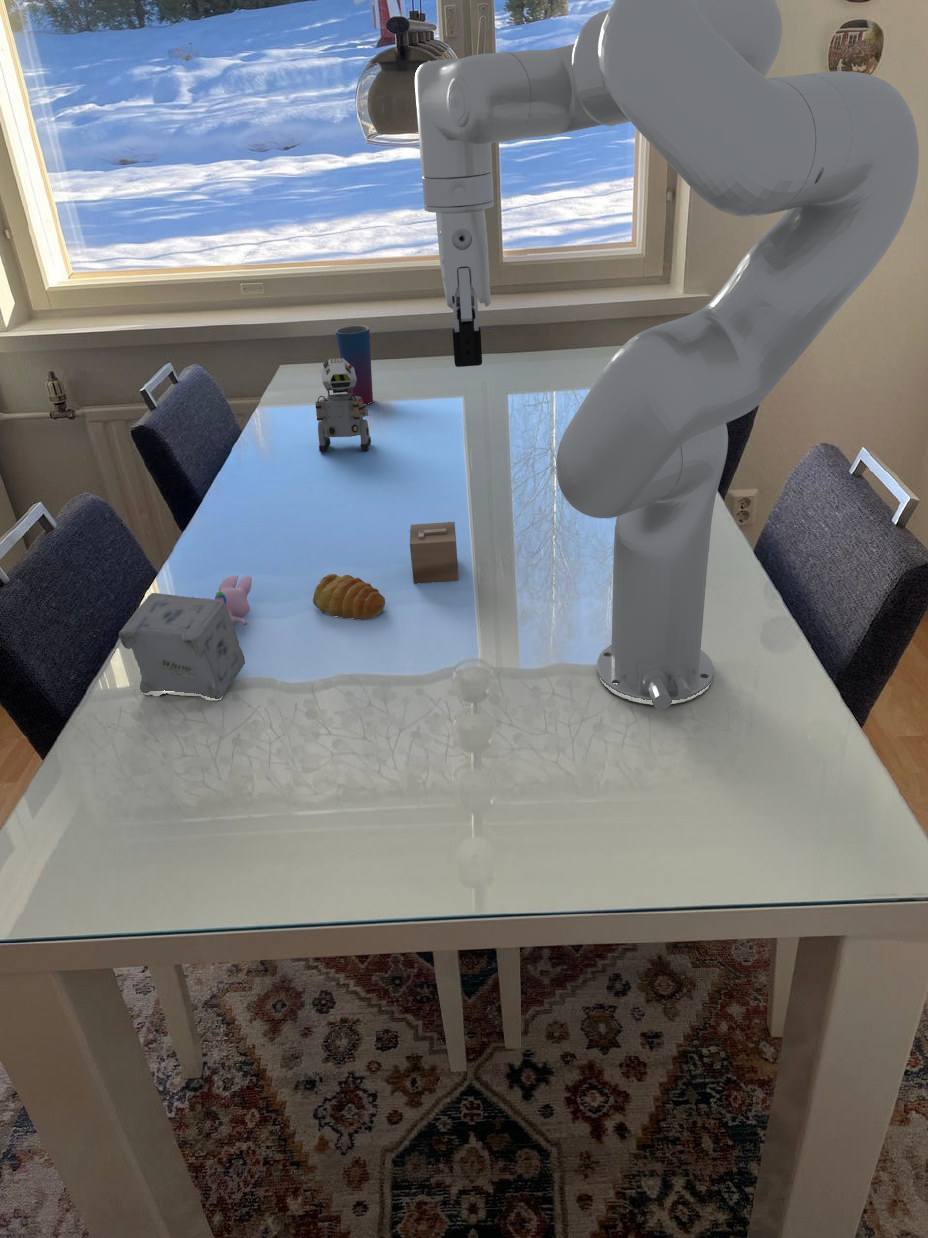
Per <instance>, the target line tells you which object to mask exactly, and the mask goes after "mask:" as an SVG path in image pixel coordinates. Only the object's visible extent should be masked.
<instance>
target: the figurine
mask: <svg viewBox="0 0 928 1238" xmlns="http://www.w3.org/2000/svg"><path fill="white" fill-rule="evenodd" d="M319 370H320V375H321V382H322V384H323V386H324V389H325V390H326V392H327V397H325V396H324V395H319V396H318V398H317V401H315V412H316V421H318V423H317V433H318V434H317V435H318V443H319V444H318V450H319V451H318V452H320V453H327V451H328V449H329V448H330V446H331V438H352V437H357V436H360V451H362V452H365V451H366V452H367V451H368V450H369V447H370V446H371V444H372V438H371V436H370V429H369V424H368V420H367V419H365V418H364V417H369V409H367V408H366V406H365V404H362V401H363V400H362V397H358V396H354V394H353V389H354V387H355V385H356V381H357V378H356V375H357V372H356V371H355V370H354V367H352V366H351V365H350V364H349V363H348V362H347V361H346V360H344V359H343V358H340V357H339V358H338V357H337V358H336V357H335V358H329V359H328V360H325V362H324V363H323V365H322V367H321V369H319ZM348 389H351V394H347V392H348ZM330 391H332V393H333V394H330ZM320 398H322V399H320Z"/></svg>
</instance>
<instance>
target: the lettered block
mask: <svg viewBox="0 0 928 1238" xmlns="http://www.w3.org/2000/svg"><path fill="white" fill-rule="evenodd" d="M409 533H410V535H409V549H410V559H411V562H410V563H411V570H412V571H411V572H412V581H413V584H414V585H416V584H417V585H418V583H420V584H431V583H432V582H434V583H447V582H458V581H459V567H458V566H459V564H458V548H457V537H456V536H457V535H456V522H455V521H446V522H444V521H443V522H431V523H418V524H417V523H416V524H415V523H414V524H413V523H412V524H410V532H409ZM432 584H433V583H432Z"/></svg>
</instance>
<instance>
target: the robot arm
mask: <svg viewBox="0 0 928 1238" xmlns="http://www.w3.org/2000/svg"><path fill="white" fill-rule="evenodd" d="M779 8H780V7H779V6H778V4H777V1H776V0H615V1H614V2H613V4H612V5H611V7H610V8H609V9H606V10H603V11H599V12H598V13H596V14H594V15H593V16H591V17H590V18H589V19H588V20H587V21H586V22H585V23H584V24H583V26H582V27H581V29H580V30H579V32H578V34H577V36H576V39H575V43H572V44H568V45H565V46H560V47H556V48H555V47H554V48H550V49H534V50H530V49H529V50H521V51H519V50H518V51H505V52H504V51H503V52H494V53H493V52H492V53H479V54H474V55H469V56H466V57H462V58H449V59H447V58H446V59H438V60H430V61H425V62H423V63H422V64H420V65H419V67H417V70H416V72H415V74H414V75H415V76H414V89H415V90H414V92H415V103H416V104H415V105H416V118H417V119H416V120H417V128H418V130H417V131H418V141H419V142H418V143H419V155H420V158H419V159H420V167H421V168H420V169H421V176H422V177H421V181H422V195H423V196H422V197H423V209H424V211H425V212H428V213H435V217H436V219H435V220H436V231H437V243H438V244H437V245H438V254H439V264H440V271H441V272H440V273H441V280H442V283H443V291H444V295H445V301H446V305H447V307H448V308H450V309H451V310H453V311H452V312H453V327H454V328H452V344H453V362H454V365H455V367H457V368H461V367H462V368H463V367H475V366H481V365H482V363H483V355H482V354H483V352H482V351H483V349H482V334H481V333H482V332H481V331H482V330H481V326H479V304H478V301H479V303H480V304H484V307H487V308H488V306H490V305H491V302H492V299H491V283H490V267H489V266H490V263H489V246H488V232H487V231H488V230H487V229H488V228H487V221H486V220H487V219H486V214H485V210H486V209H490V208H493V207H494V206H495V204H494V203H495V201H494V199H495V198H494V177H493V175H494V174H493V153H492V151H493V150H492V144H495V143H503V142H509V141H516V140H523V139H530V138H539V137H547V136H548V137H549V136H554V135H555V136H556V135H562V134H565V133H570V132H575V131H579V130H584V129H590V128H595V127H599V126H600V127H601V126H607V127H613V126H617V125H621V124H626V123H631V124H632V125H633V126H634V127H635V129H637V131H638V132H639V133H640V134H641V135H642V136H643V137H644V138H645V139H646V141H648V142H649V144H650V145H651V146H652V147H653V148H654V149H655V150H656V151H657V152H658V153H659V154H660V155H661V156H662V158H663V159H664V160H665V161H666V162H667V163H668V164H669V165H670V166H671V167H672V169H673V170H674V171H675V172H676V173H677V174H678V175H679V176H680V177H681V178H682V180H683V181H684V182H685V183H686V184H687V185H688V186H689V188H691V190H693V191H694V192H695V193H696V194H697V195H698V196H699V197H700V198H701V199H702V200H703V201H704V202H706V203H707V204H708V205H710V206H711V207H713V208H715V209H717V210H718V211H720V212H722V213H725V214H728V215H731V216H735V217H742V218H743V217H744V218H745V217H746V218H747V217H748V218H749V217H751V218H754V217H761V216H767V215H770V214H775V213H779V212H784V211H786V212H785V213H784V214H783V215H782V216H781V217H780V219H779V220H778V221H777V222H776V223H774V225H773V226H771V228H769V229H768V230H767V231H766V232H765V234H763V236H761V237H760V238H759V239H758V240H757V241H756V242H755V243H754V244H753V245H752V246H751V247H750V249H748V251H747V253H746V254H744V256H743V257H742V259H741V260H740V262H739V263H738V265H737V267H736V268H735V270H734V271H733V272H732V274H731V275H730V277H729V278H728V279H727V280H726V282H725V283H724V284H723V286H722V287H721V288H720V290H719V291H718V292H717V293H716V295H714V296H713V299H712V300H710V301H709V302H708V304H706V305H705V306H704V307H703V308H701V309H699V310H697V311H695V312H693V313H690V314H688V315H685V316H683V317H680V318H678V319H674V320H670V321H667V322H664V323H661V324H658V325H655V326H652V327H650V328H647V329H645V330H643V331H640V332H639V333H637V334H636V335H634V336H632V337H631V338H630V339H629V340H628V341H626V342H625V343H624V344H623V345H622V346H620V348H618V349H617V350H616V351H615V353H614V354H613V355H612V356H611V358H610V359H609V360H608V362H607V363H606V365H605V366H604V368H603V370H602V371H601V373H600V374H599V376H598V377H597V379H596V380H595V382H594V384H593V385H592V387H590V390H588V391H589V392H588V393H587V394H586V396H585V398H584V399H583V401H582V403H581V404H580V406H579V407H578V408H577V411H576V412H575V413H574V415H573V416H572V418H571V420H570V422H569V423H568V425H567V427H566V428H565V430H564V432H563V434H562V437H561V439H560V442H559V446H558V449H557V454H556V461H555V462H556V463H555V465H556V466H555V467H556V469H555V470H556V477H557V483H558V486H559V488H560V491H561V493H562V495H563V496H564V498H565V500H566V501H567V502H568V504H569V505H570V506H571V507H573V508H574V509H575V510H576V511H578V512H579V513H581V514H583V515H585V516H588V517H590V518H591V517H592V518H595V519H612V518H616V519H615V525H614V535H613V538H614V539H613V562H612V563H613V568H612V569H613V570H612V573H613V574H612V607H611V609H612V611H611V612H612V613H611V614H612V615H611V644H609V646H608V647H606V648H604V649H603V650H602V652H601V653H600V654H599V655H598V658H597V661H596V662H597V663H596V674H597V673H598V675H597V677H598V676H599V678H601V680H602V681H603V682H604V683H606V685H608V686H609V687H611V688H612V689H614V690H616V691H617V692H619V693H622V694H624V695H628V696H631V697H634V698H641V699H643V700H645V699H646V700H652V703H653V705H654V706H653V707H654V709H656V710H660V711H663V710H667V709H668V708H669V707H670V706H672V705H671V703H672V700H680V699H687V698H688V697H691V696H693V695H696V694H697V693H699V692H700V691H702V690H703V689H705V688H706V687H707V686H708V685H709V684H710V683H711V681H712V682H713V680H714V664H713V661H712V660H711V658H710V657H709V655H708V654H707V653H706V652H705V651H703V650H702V649H701V647H702V638H703V626H704V624H703V623H704V613H705V612H704V611H705V600H706V599H705V598H706V587H707V576H708V564H709V563H708V561H709V552H710V543H711V542H710V541H711V531H712V521H713V514H714V507H715V502H716V498H717V493H718V489H719V486H720V482H721V479H722V476H723V473H724V469H725V466H726V465H725V464H726V461H727V455H728V448H729V445H728V444H729V434H728V426H727V423H730V422H732V421H734V420H737V419H739V418H741V417H743V416H745V415H747V414H748V413H750V412H751V411H753V410H754V409H755V408H757V407H758V406H759V405H760V404H761V403H762V402H763V401H764V400H765V399H766V397H767V396H768V395H769V394H770V393H771V392H772V391H773V389H774V388H775V387H776V385H778V383H779V382H780V381H781V379H782V378H784V375H785V374H786V373H788V371H789V370H790V369H791V368H792V367H793V365H794V364H795V363H796V362H797V360H799V359H800V357H801V356H802V355H803V354H804V352H805V351H806V350H807V349H808V348H809V347H810V346H811V344H812V343H813V342H814V341H815V339H817V337H818V336H819V335H820V333H821V332H822V331H823V329H824V328H825V326H827V324H828V323H829V321H830V320H832V318H834V316H835V315H836V313H838V311H839V310H840V309H841V308H842V307H843V305H845V303H846V302H847V301H848V299H849V298H851V296H852V295H853V294H854V293H855V292H856V291H857V289H859V287H860V286H861V285H862V284H863V283H864V282H865V281H866V279H867V278H868V276H870V274H871V273H872V272H873V271H874V270H875V268H876V266H877V265H878V264H879V263H880V261H881V260H882V258H883V257H884V256H885V254H886V253H887V252H888V250H889V249H890V247H891V245H892V244H893V243H894V240H895V238H896V237H897V236H898V233H899V232H900V231H901V228H902V226H903V224H904V222H905V220H906V219H907V216H908V212H909V210H910V208H911V206H912V205H911V204H912V201H913V198H914V195H915V191H916V187H917V181H918V174H919V166H920V158H919V157H920V151H919V150H920V149H919V148H920V146H919V138H918V132H917V127H916V123H915V120H914V116H913V114H912V111H911V109H910V107H909V106H908V103H907V102H906V100H905V98H904V97H903V96H902V94H901V93H900V92H899V90H897V89H896V88H895V87H894V86H892V85H891V84H890V83H889V82H887V81H886V80H884V79H882V78H879V77H877V76H875V75H872V74H869V73H864V72H858V71H847V70H846V71H844V70H843V71H841V70H834V71H822V72H813V73H805V74H798V75H790V76H789V75H787V76H778V77H769V78H766V76H767V74H768V73H769V71H770V70H771V68H772V66H773V65H774V63H775V61H776V58H777V56H778V54H779V51H780V47H781V43H782V37H783V34H782V33H783V24H782V23H783V22H782V17H781V13H780V11H781V10H780V9H779ZM599 678H598V679H599ZM712 679H713V680H712ZM613 683H618V684H617V685H616V684H613Z"/></svg>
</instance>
